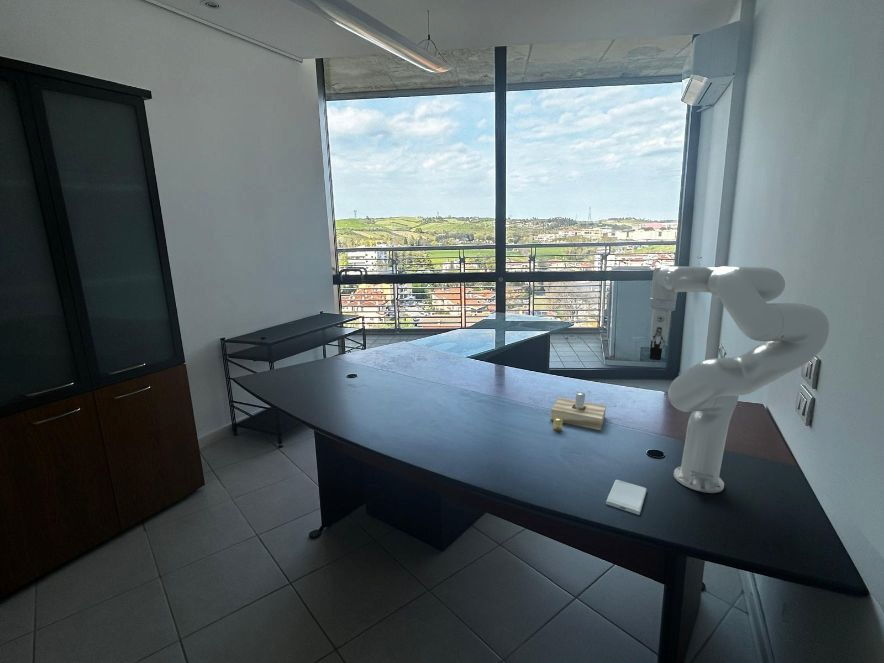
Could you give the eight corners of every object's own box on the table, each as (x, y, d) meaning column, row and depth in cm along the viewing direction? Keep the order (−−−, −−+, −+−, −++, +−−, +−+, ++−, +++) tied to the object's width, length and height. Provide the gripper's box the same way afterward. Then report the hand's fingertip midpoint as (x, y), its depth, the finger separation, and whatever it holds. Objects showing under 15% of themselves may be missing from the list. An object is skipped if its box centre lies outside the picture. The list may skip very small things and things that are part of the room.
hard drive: (615, 479, 124) (606, 500, 114) (647, 488, 120) (640, 511, 110) (614, 484, 125) (605, 505, 114) (646, 493, 121) (639, 517, 110)
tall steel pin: (581, 420, 166) (584, 395, 164) (573, 419, 167) (575, 394, 165) (583, 417, 169) (585, 393, 166) (574, 416, 170) (576, 391, 168)
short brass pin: (561, 432, 156) (562, 421, 155) (551, 430, 157) (552, 419, 156) (562, 428, 158) (563, 418, 157) (553, 426, 160) (554, 416, 159)
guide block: (600, 430, 158) (602, 418, 157) (550, 420, 165) (551, 408, 164) (604, 416, 170) (606, 405, 169) (557, 407, 178) (558, 397, 177)
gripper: (676, 309, 131) (668, 364, 135) (674, 302, 146) (667, 351, 150) (648, 306, 134) (641, 360, 138) (649, 300, 149) (643, 348, 153)
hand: (655, 356), depth 144 cm, fingers open, 9 cm apart
